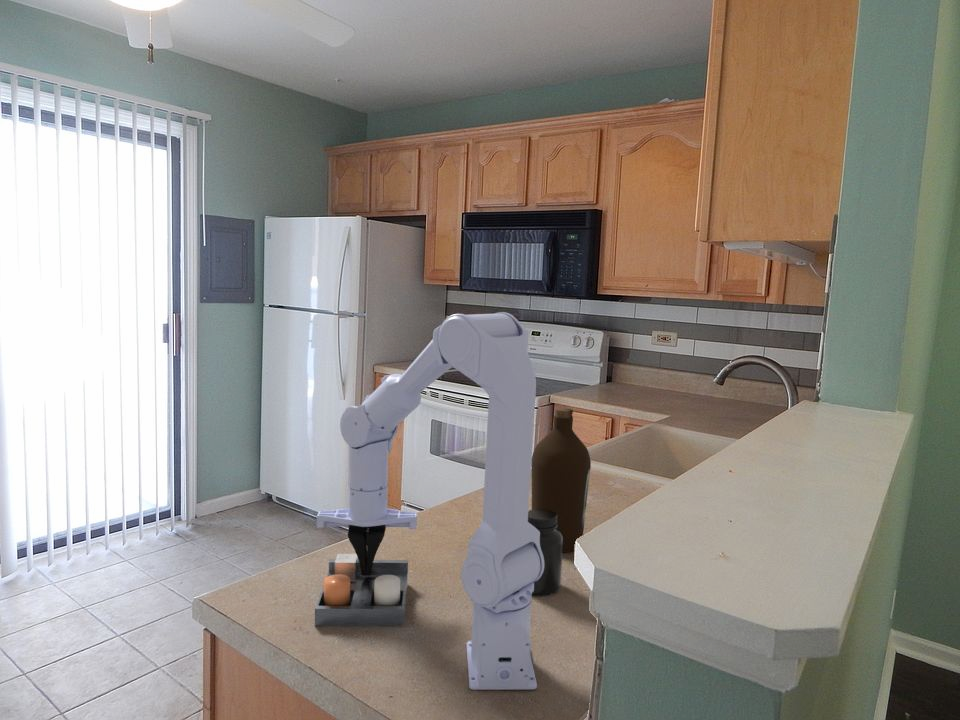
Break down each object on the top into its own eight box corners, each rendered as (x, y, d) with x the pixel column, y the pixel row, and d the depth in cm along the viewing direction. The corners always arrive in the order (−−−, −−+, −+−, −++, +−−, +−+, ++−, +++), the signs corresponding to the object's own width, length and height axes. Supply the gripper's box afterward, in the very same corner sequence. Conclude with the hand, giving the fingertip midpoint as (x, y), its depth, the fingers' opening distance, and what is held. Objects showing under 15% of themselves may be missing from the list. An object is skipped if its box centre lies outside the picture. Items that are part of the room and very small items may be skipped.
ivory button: (399, 607, 90) (399, 586, 89) (372, 607, 90) (373, 586, 89) (400, 594, 93) (401, 574, 93) (375, 594, 93) (375, 574, 93)
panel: (403, 626, 89) (403, 598, 88) (314, 625, 88) (314, 598, 88) (407, 584, 101) (408, 559, 100) (329, 583, 100) (329, 559, 99)
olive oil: (534, 555, 113) (541, 415, 110) (522, 531, 123) (528, 402, 120) (593, 553, 114) (602, 415, 111) (576, 530, 125) (583, 403, 121)
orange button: (348, 607, 89) (348, 586, 89) (321, 607, 89) (321, 586, 89) (351, 594, 93) (351, 574, 92) (326, 594, 93) (326, 574, 92)
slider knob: (355, 581, 95) (355, 562, 95) (334, 581, 95) (334, 562, 95) (357, 572, 98) (357, 553, 98) (337, 572, 98) (337, 553, 98)
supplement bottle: (533, 572, 106) (536, 502, 105) (568, 586, 102) (573, 513, 101) (507, 587, 101) (511, 513, 100) (544, 602, 97) (548, 526, 95)
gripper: (418, 477, 100) (416, 561, 101) (322, 475, 99) (322, 560, 100) (416, 492, 93) (414, 582, 94) (314, 491, 92) (313, 581, 93)
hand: (366, 572), depth 97 cm, fingers closed
